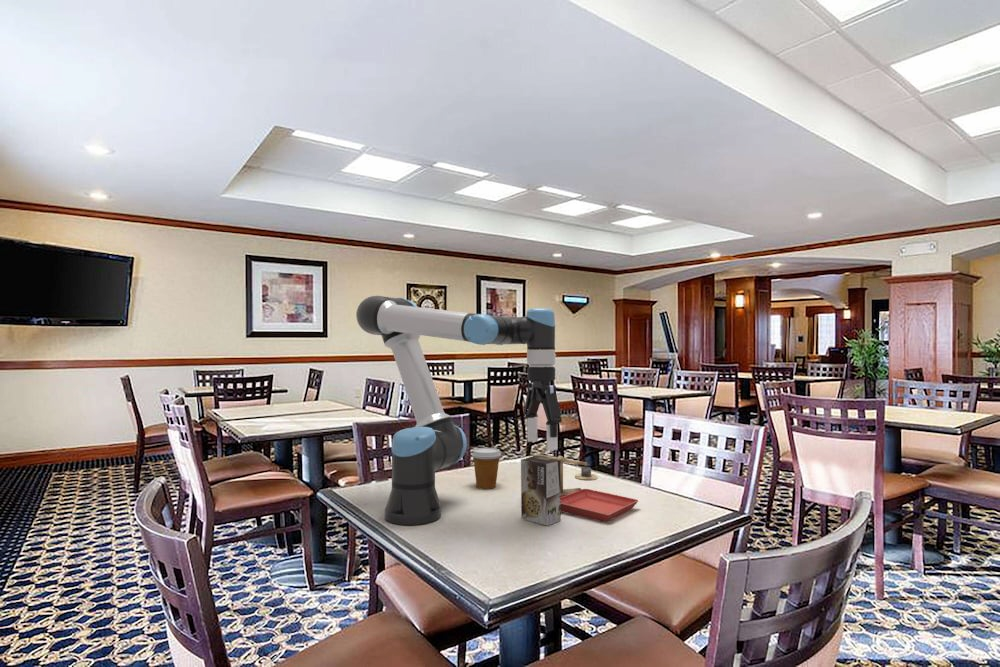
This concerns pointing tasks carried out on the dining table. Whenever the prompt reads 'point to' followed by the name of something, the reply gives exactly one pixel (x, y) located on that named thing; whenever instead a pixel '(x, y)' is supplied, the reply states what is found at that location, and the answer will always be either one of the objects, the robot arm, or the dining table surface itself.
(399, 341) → the robot arm
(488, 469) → the disposable coffee cup
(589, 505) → the plant saucer
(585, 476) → the balance
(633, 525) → the dining table surface
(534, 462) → the coffee box
